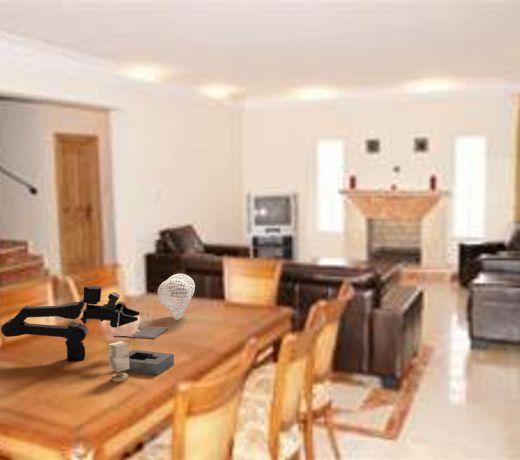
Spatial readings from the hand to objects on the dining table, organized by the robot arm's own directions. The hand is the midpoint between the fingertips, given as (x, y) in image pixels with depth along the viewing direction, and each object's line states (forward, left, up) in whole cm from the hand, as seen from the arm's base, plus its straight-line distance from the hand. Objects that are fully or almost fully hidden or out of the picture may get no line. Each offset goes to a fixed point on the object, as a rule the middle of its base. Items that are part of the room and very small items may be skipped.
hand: (138, 316), depth 238 cm
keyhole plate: (0, -15, -17) cm, 22 cm away
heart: (+25, +54, -17) cm, 62 cm away
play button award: (+5, +35, -17) cm, 39 cm away
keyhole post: (-10, -25, -17) cm, 31 cm away
